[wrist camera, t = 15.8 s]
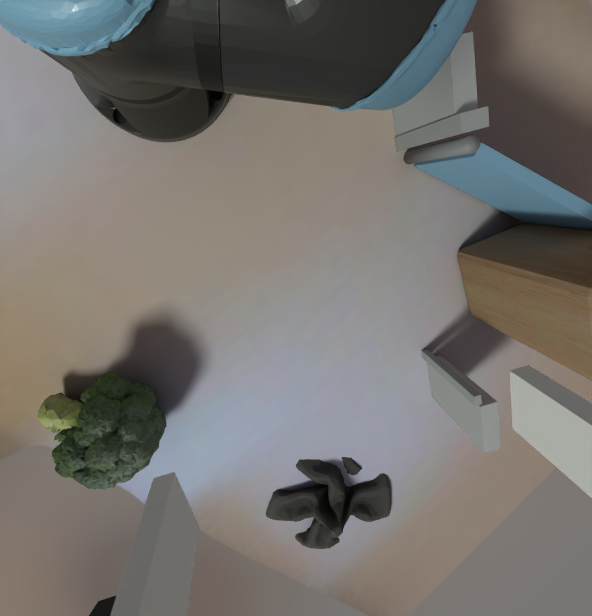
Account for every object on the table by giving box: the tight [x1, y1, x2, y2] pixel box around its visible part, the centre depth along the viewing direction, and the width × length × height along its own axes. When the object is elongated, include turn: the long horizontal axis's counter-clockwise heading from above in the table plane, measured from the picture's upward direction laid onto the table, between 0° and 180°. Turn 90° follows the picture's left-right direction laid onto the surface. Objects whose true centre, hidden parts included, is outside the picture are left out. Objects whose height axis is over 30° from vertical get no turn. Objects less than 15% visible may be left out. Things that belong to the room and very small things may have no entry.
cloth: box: [266, 457, 391, 549], centre depth 53 cm, size 22×19×6 cm
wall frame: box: [392, 31, 501, 454], centre depth 39 cm, size 41×3×13 cm, turn 14°
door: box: [404, 135, 592, 230], centre depth 38 cm, size 27×3×12 cm, turn 67°
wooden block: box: [457, 223, 592, 380], centre depth 38 cm, size 10×10×20 cm
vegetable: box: [38, 372, 166, 489], centre depth 42 cm, size 12×13×15 cm
